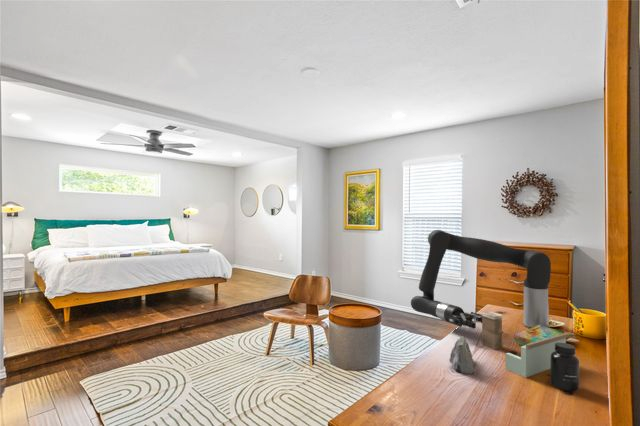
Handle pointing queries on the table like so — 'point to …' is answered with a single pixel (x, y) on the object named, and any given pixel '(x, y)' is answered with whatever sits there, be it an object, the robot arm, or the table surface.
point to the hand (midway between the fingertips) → (482, 324)
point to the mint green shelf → (534, 356)
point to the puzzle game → (537, 334)
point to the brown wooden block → (492, 330)
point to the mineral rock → (462, 357)
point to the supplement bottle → (564, 368)
